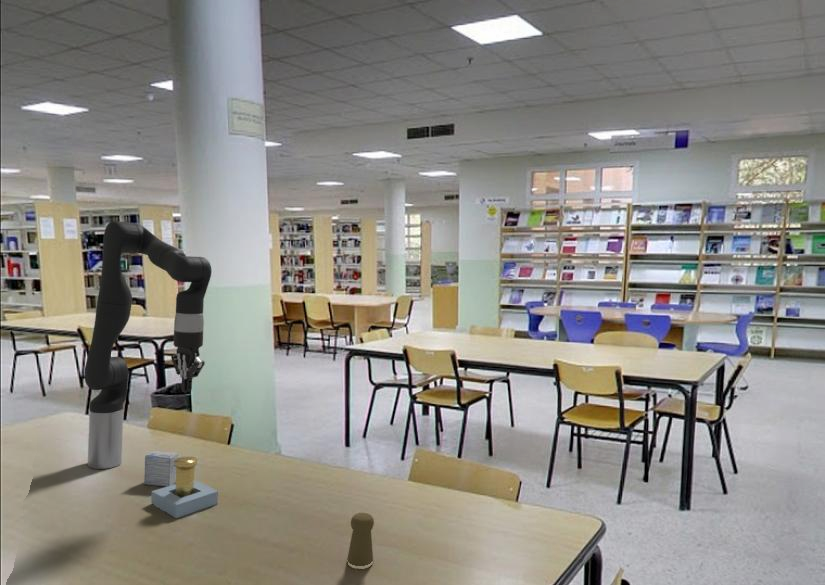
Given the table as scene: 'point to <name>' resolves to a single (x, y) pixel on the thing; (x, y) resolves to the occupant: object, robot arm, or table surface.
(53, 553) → the table surface
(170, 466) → the medicine box
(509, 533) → the table surface
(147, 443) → the table surface
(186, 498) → the jig
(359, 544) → the cork
